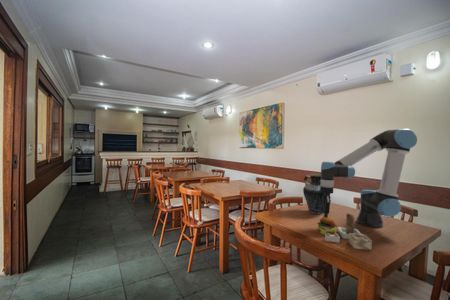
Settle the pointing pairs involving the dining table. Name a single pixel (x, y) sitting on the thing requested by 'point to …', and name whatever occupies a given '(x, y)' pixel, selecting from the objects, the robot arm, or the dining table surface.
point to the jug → (313, 194)
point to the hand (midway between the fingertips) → (325, 223)
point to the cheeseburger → (326, 226)
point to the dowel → (350, 223)
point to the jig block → (360, 241)
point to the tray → (343, 232)
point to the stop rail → (332, 237)
